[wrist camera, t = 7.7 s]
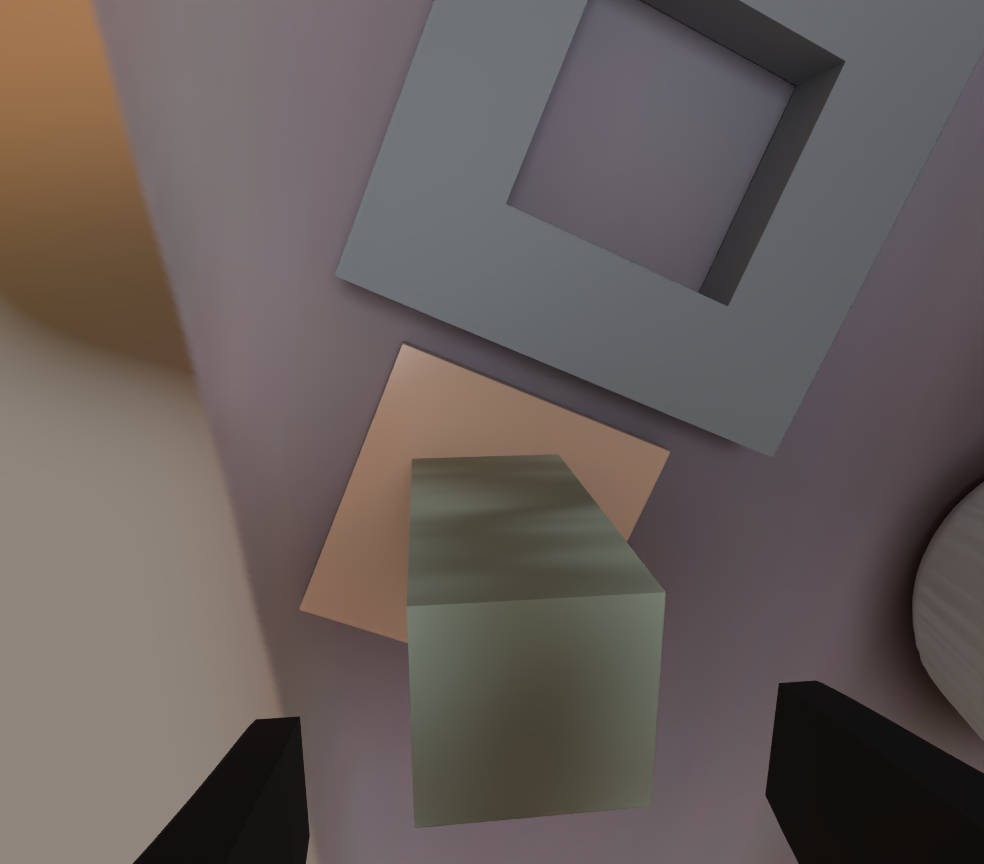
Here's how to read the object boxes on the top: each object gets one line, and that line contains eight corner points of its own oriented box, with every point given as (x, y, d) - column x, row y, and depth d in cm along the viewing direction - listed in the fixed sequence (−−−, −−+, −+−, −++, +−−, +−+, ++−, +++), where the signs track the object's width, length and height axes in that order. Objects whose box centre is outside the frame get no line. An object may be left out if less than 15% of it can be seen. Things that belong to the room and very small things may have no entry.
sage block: (558, 454, 18) (665, 591, 10) (554, 586, 19) (650, 806, 11) (412, 458, 17) (406, 606, 10) (416, 594, 18) (415, 828, 11)
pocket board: (945, 22, 17) (1014, -10, 15) (736, 439, 19) (773, 458, 17) (528, -231, 14) (545, -308, 13) (344, 275, 17) (334, 275, 15)
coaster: (662, 446, 19) (670, 451, 18) (551, 677, 20) (555, 689, 20) (403, 341, 17) (402, 343, 17) (302, 598, 19) (299, 609, 18)
